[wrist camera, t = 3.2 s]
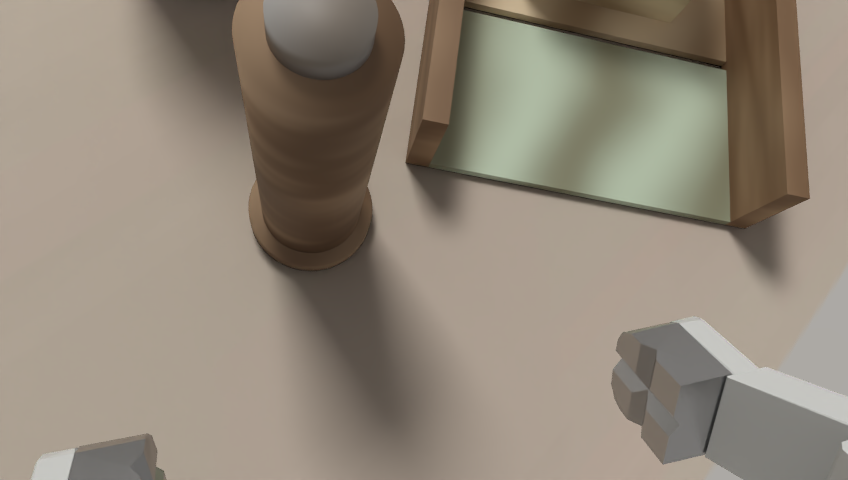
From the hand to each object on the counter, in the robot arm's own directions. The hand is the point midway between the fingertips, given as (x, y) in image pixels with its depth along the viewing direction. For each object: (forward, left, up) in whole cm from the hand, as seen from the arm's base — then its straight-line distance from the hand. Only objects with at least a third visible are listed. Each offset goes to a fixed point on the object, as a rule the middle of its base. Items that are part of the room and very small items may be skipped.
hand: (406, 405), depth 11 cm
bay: (+9, +19, -14) cm, 25 cm away
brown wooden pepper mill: (-3, +8, -14) cm, 16 cm away
